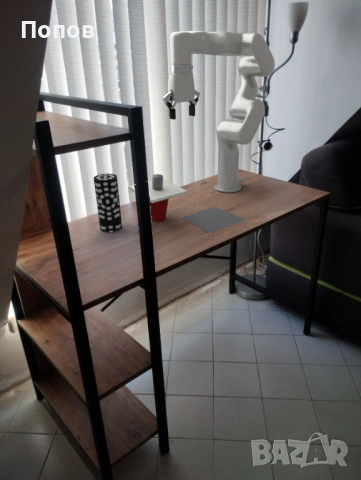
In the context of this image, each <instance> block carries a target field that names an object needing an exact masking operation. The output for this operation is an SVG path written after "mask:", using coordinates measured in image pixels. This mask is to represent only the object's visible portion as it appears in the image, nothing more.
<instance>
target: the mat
mask: <svg viewBox="0 0 361 480" xmlns="http://www.w3.org/2000/svg"><path fill="white" fill-rule="evenodd" d="M180 219H182V220H184V221H186V222H189V223H191V224H192V225H195V226H197V227H198V228H201V229H203V230H205V231H207V232H208V233H215V232H218V231H219V230H223V229H225V228H228V227H230V226H232V225H235V224H237V223H240V222H243V221H245V220H246V218H243V217H241V216H238V215H236V214H233V213H231V212H229V211H226V210H224V209H221V208H219V207H216V206H211V207H209V208H206V209H202V210H200V211H197V212H194V213H190V214H187V215H184V216H182V217H180Z"/></svg>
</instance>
